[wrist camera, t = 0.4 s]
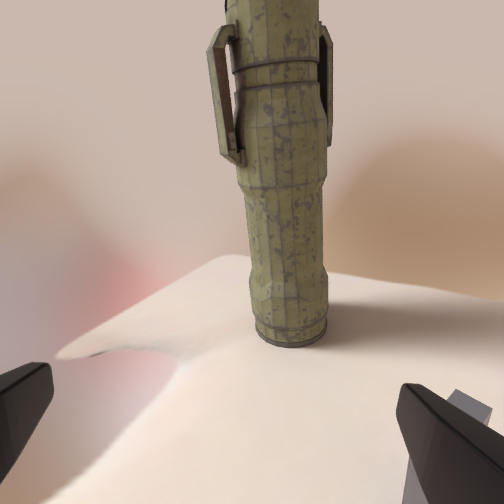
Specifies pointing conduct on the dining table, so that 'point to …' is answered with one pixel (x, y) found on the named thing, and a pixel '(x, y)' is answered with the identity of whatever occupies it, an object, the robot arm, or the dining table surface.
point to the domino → (413, 493)
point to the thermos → (279, 154)
